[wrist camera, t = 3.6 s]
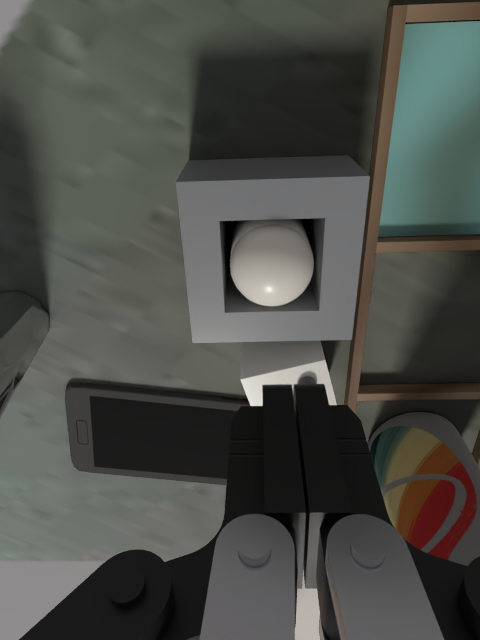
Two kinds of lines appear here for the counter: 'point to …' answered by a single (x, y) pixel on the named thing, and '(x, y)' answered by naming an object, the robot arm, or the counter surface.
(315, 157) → the button box
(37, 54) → the counter surface
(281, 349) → the die
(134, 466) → the cell phone
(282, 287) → the dome
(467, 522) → the lotion bottle
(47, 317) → the milkshake
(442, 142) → the track
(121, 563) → the robot arm
